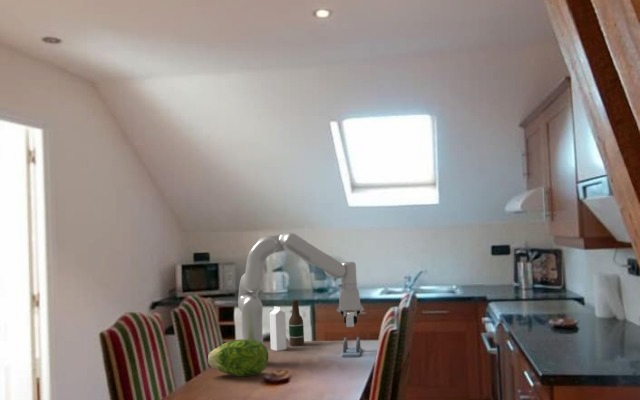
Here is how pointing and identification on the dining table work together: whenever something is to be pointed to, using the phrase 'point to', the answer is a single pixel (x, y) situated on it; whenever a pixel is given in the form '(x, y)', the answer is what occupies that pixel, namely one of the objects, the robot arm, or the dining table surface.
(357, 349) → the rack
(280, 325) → the milk
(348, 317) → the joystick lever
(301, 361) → the dining table surface
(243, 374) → the lettuce
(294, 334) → the beer bottle
